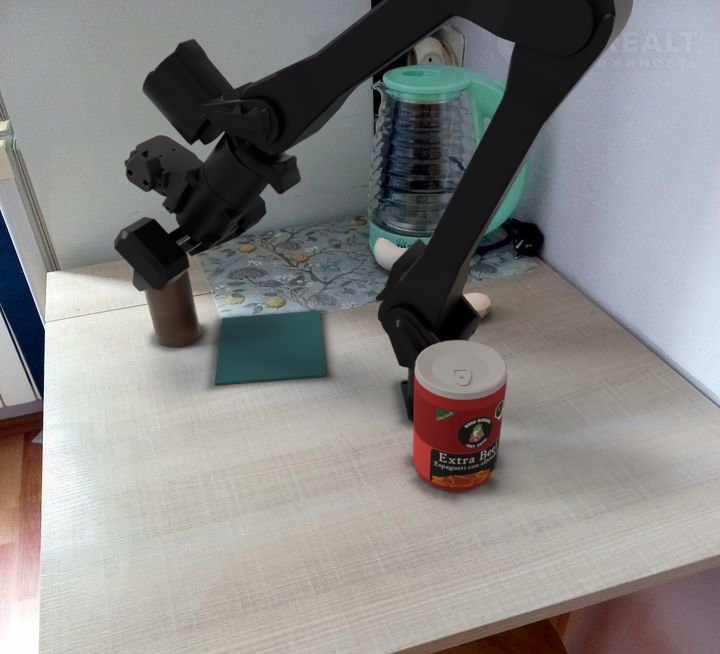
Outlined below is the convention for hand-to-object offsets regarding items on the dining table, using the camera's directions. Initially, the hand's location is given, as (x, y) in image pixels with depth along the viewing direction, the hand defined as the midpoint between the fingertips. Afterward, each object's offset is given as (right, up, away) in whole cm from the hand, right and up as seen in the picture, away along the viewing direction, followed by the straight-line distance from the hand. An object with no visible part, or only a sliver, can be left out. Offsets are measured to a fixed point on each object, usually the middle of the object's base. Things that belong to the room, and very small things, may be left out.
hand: (163, 269), depth 79 cm
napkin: (+12, -8, +3) cm, 15 cm away
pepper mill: (0, -6, +6) cm, 9 cm away
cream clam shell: (+35, -4, +7) cm, 36 cm away
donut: (+29, +6, +18) cm, 35 cm away
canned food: (+31, -22, -13) cm, 40 cm away
